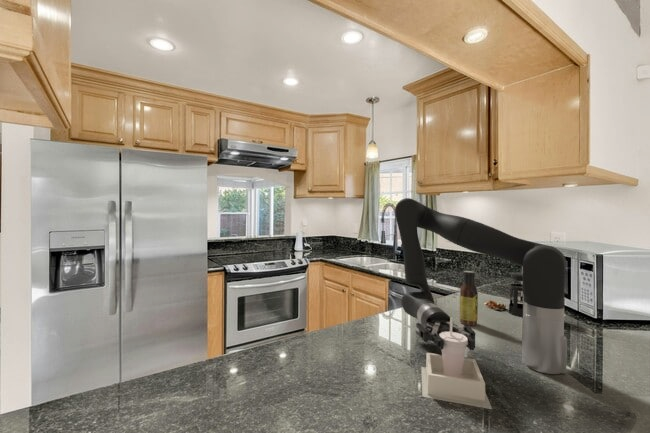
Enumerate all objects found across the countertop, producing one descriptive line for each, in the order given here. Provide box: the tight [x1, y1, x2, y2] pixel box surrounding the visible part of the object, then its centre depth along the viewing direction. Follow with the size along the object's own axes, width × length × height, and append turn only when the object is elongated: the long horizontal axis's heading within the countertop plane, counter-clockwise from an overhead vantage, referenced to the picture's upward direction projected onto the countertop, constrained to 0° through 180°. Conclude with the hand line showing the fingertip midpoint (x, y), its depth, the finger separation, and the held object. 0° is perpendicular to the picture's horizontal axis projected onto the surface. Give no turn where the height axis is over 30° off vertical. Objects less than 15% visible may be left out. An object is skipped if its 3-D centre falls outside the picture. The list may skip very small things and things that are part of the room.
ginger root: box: [483, 299, 509, 312], centre depth 139 cm, size 7×12×4 cm, turn 11°
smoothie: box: [439, 317, 468, 378], centre depth 73 cm, size 6×6×14 cm
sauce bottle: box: [459, 270, 479, 327], centre depth 117 cm, size 7×6×20 cm
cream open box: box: [425, 352, 486, 405], centre depth 73 cm, size 12×12×4 cm
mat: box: [420, 366, 493, 410], centre depth 73 cm, size 14×14×1 cm
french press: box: [507, 266, 524, 318], centre depth 129 cm, size 12×9×23 cm
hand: (457, 345), depth 70 cm, fingers closed on smoothie, 6 cm apart
